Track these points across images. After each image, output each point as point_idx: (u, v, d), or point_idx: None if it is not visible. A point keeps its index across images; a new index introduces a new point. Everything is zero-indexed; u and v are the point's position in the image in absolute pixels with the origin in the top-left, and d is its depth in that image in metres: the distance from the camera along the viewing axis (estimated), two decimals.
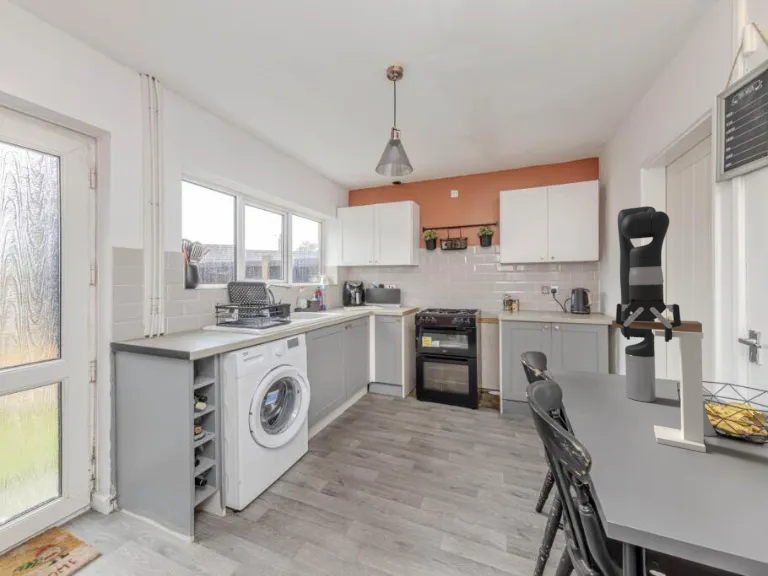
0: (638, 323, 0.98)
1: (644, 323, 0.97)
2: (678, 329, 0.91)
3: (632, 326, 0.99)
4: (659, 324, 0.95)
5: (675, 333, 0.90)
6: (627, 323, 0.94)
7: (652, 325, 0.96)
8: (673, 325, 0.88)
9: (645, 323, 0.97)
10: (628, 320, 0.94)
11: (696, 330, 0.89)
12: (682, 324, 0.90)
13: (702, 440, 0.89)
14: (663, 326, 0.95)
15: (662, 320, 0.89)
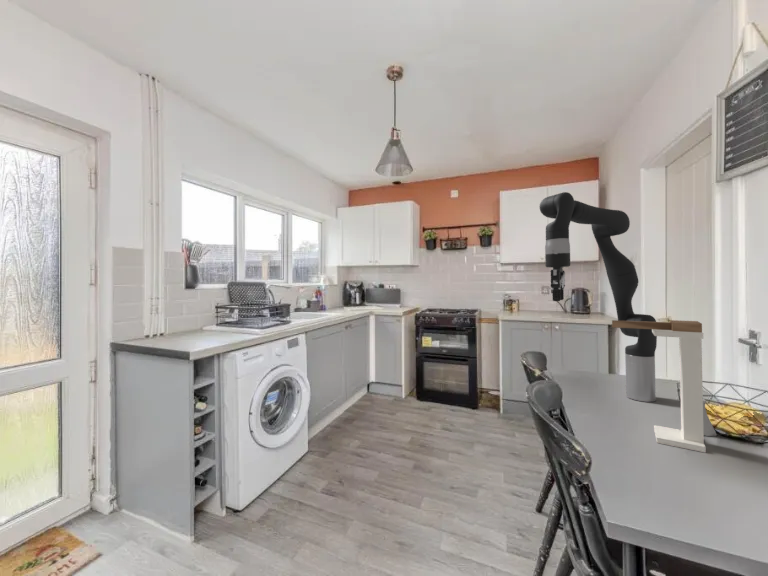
0: (638, 323, 0.98)
1: (644, 323, 0.97)
2: (678, 329, 0.91)
3: (632, 326, 0.99)
4: (659, 324, 0.95)
5: (675, 333, 0.90)
6: (560, 286, 1.07)
7: (652, 325, 0.96)
8: None
9: (645, 323, 0.97)
10: (560, 284, 1.07)
11: (696, 330, 0.89)
12: (682, 324, 0.90)
13: (702, 440, 0.89)
14: (663, 326, 0.95)
15: None
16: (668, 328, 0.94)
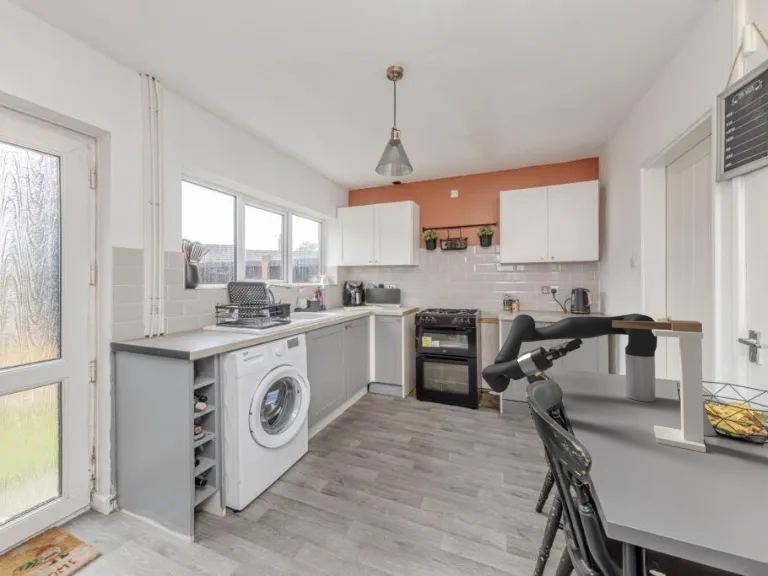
0: (638, 323, 0.98)
1: (644, 323, 0.97)
2: (678, 329, 0.91)
3: (632, 326, 0.99)
4: (659, 324, 0.95)
5: (675, 333, 0.90)
6: None
7: (652, 325, 0.96)
8: None
9: (645, 323, 0.97)
10: (559, 347, 1.08)
11: (696, 330, 0.89)
12: (682, 324, 0.90)
13: (702, 440, 0.89)
14: (663, 326, 0.95)
15: None
16: (668, 328, 0.94)
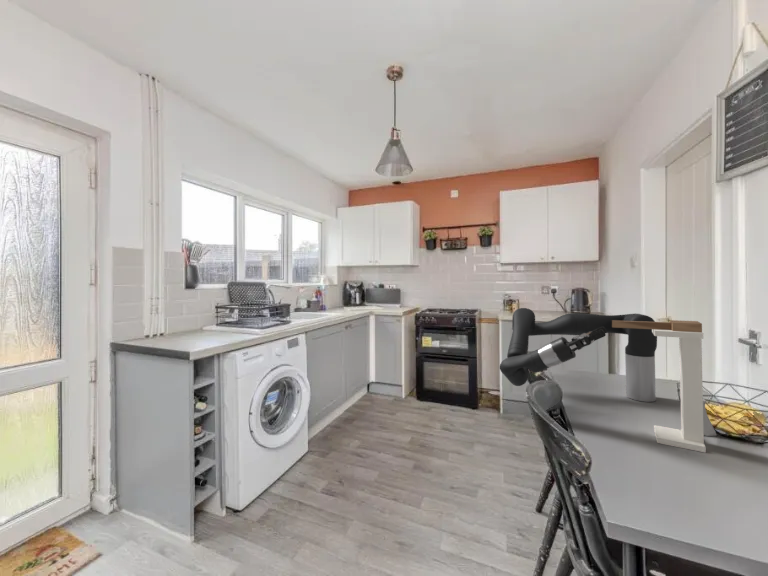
0: (638, 323, 0.98)
1: (644, 323, 0.97)
2: (678, 329, 0.91)
3: (632, 326, 0.99)
4: (659, 324, 0.95)
5: (675, 333, 0.90)
6: None
7: (652, 325, 0.96)
8: None
9: (645, 323, 0.97)
10: (583, 336, 1.03)
11: (696, 330, 0.89)
12: (682, 324, 0.90)
13: (702, 440, 0.89)
14: (663, 326, 0.95)
15: None
16: (668, 328, 0.94)
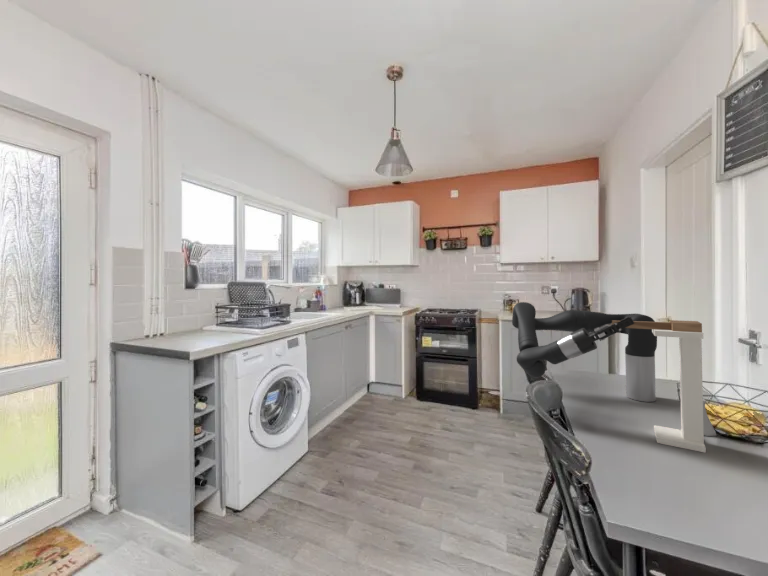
0: (638, 323, 0.98)
1: (644, 323, 0.97)
2: (678, 329, 0.91)
3: (632, 326, 0.99)
4: (659, 324, 0.95)
5: (675, 333, 0.90)
6: (613, 324, 1.01)
7: (652, 325, 0.96)
8: None
9: (645, 323, 0.97)
10: (610, 325, 1.01)
11: (696, 330, 0.89)
12: (682, 324, 0.90)
13: (702, 440, 0.89)
14: (663, 326, 0.95)
15: (607, 324, 1.05)
16: (668, 328, 0.94)
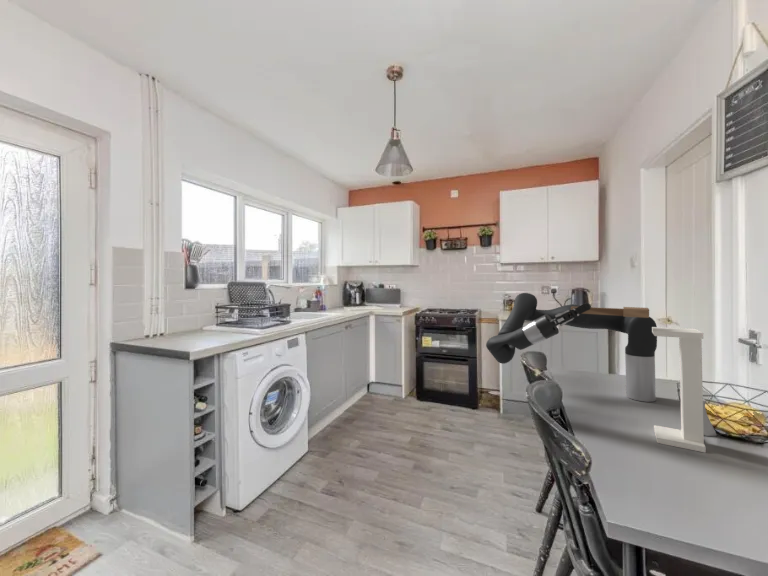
0: (594, 309, 1.04)
1: (599, 309, 1.03)
2: (628, 315, 0.97)
3: (588, 312, 1.05)
4: (612, 310, 1.01)
5: (675, 333, 0.90)
6: None
7: (606, 311, 1.02)
8: None
9: (600, 309, 1.03)
10: (569, 311, 1.07)
11: (644, 316, 0.95)
12: (632, 310, 0.96)
13: (702, 440, 0.89)
14: (616, 312, 1.00)
15: (567, 310, 1.10)
16: (620, 314, 1.00)
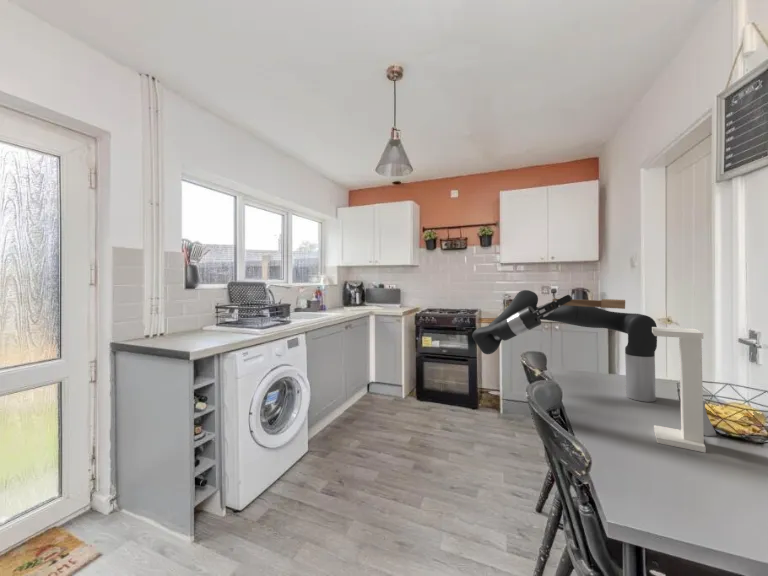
0: (574, 301, 1.08)
1: (579, 301, 1.07)
2: (606, 306, 1.01)
3: (569, 303, 1.09)
4: (591, 302, 1.05)
5: (675, 333, 0.90)
6: None
7: (586, 303, 1.06)
8: None
9: (580, 301, 1.07)
10: None
11: (620, 307, 0.99)
12: (609, 301, 1.00)
13: (702, 440, 0.89)
14: (595, 303, 1.04)
15: (550, 302, 1.14)
16: (599, 305, 1.04)
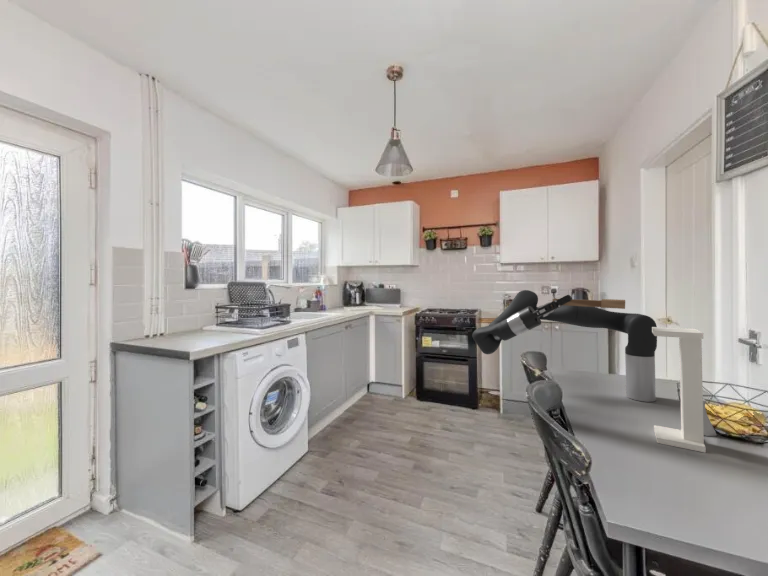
0: (574, 301, 1.08)
1: (579, 301, 1.07)
2: (606, 306, 1.01)
3: (569, 303, 1.09)
4: (591, 302, 1.05)
5: (675, 333, 0.90)
6: None
7: (586, 303, 1.06)
8: None
9: (580, 301, 1.07)
10: None
11: (620, 307, 0.99)
12: (609, 301, 1.00)
13: (702, 440, 0.89)
14: (595, 303, 1.04)
15: (550, 302, 1.14)
16: (599, 305, 1.04)
